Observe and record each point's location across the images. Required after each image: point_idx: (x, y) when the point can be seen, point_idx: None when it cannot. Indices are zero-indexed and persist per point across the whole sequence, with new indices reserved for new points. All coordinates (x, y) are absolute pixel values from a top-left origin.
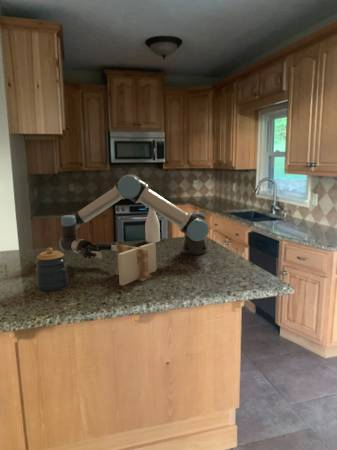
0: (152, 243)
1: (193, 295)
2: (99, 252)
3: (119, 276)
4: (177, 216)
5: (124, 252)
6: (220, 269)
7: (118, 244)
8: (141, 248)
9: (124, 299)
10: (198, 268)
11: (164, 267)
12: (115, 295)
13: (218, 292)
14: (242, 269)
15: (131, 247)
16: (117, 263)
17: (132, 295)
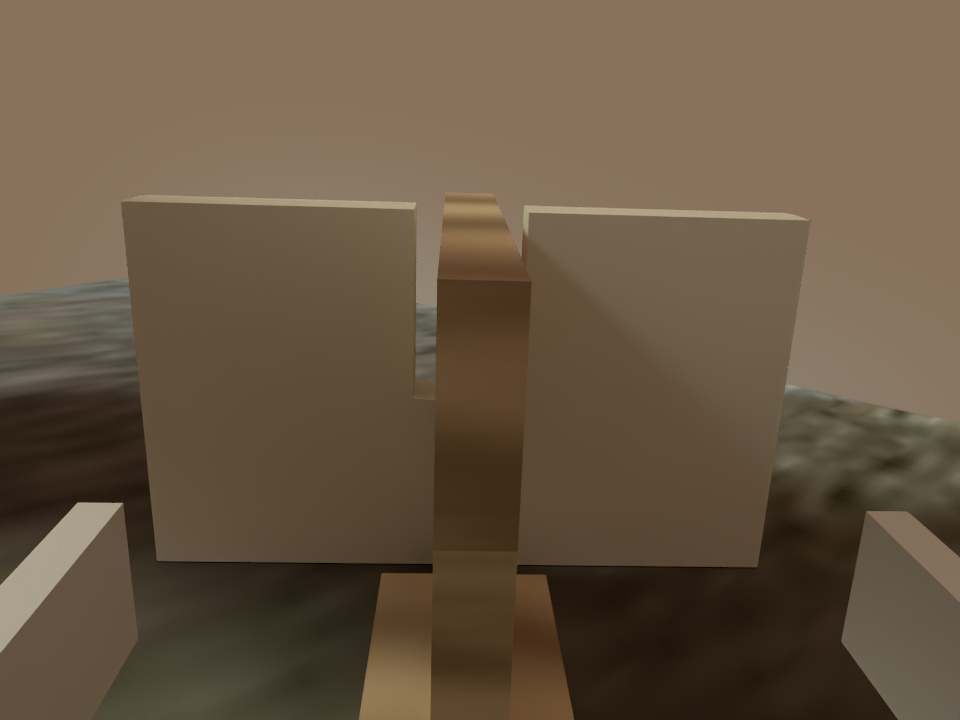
0: (185, 198)
1: None
2: (915, 551)
3: (768, 479)
4: None
5: (714, 214)
6: (35, 349)
7: (465, 279)
8: (462, 201)
9: (863, 444)
10: (27, 398)
11: (30, 529)
12: (900, 492)
13: (419, 313)
14: (20, 315)
15: (494, 220)
16: (512, 643)
17: (780, 443)
